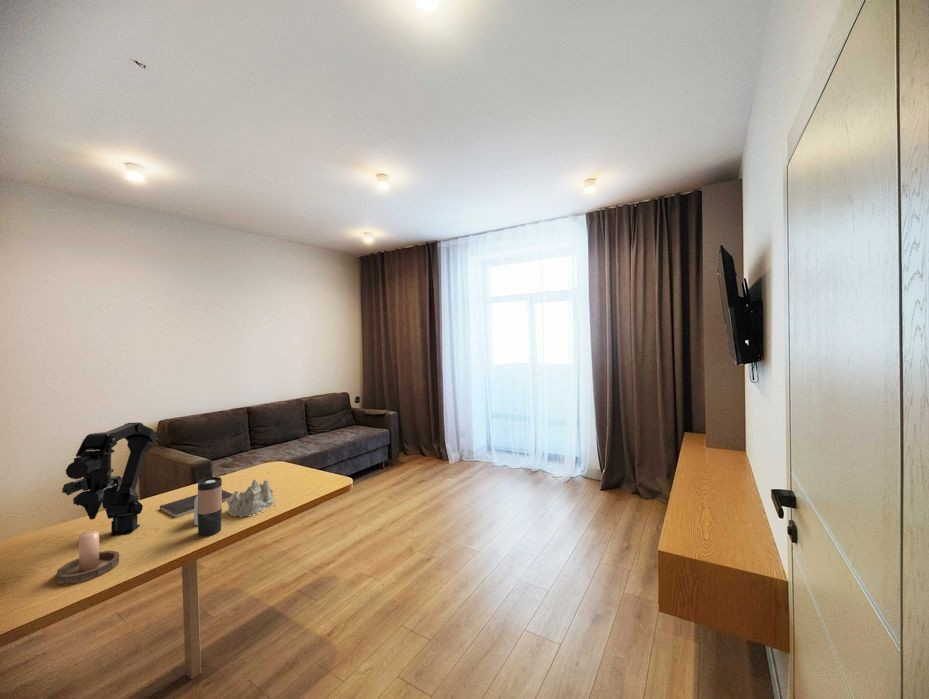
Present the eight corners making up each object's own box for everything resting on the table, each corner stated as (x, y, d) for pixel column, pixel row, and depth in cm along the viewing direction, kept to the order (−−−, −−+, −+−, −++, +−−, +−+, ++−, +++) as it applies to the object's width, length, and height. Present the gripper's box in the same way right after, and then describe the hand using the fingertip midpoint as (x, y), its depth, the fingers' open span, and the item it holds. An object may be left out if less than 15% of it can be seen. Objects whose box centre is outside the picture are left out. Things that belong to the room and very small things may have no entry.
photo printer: (205, 514, 150) (205, 485, 150) (217, 513, 151) (217, 485, 151) (192, 526, 140) (192, 495, 140) (204, 525, 141) (204, 494, 141)
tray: (128, 555, 120) (128, 548, 120) (100, 580, 107) (100, 572, 107) (79, 561, 117) (79, 554, 117) (43, 588, 104) (43, 579, 104)
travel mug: (226, 527, 140) (226, 476, 140) (213, 537, 132) (213, 484, 132) (206, 527, 140) (206, 477, 140) (192, 537, 132) (192, 484, 132)
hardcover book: (234, 499, 167) (234, 494, 167) (175, 519, 147) (175, 514, 147) (217, 492, 175) (217, 487, 175) (159, 510, 155) (159, 505, 155)
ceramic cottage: (281, 503, 161) (278, 471, 161) (247, 521, 146) (244, 485, 146) (256, 500, 167) (254, 469, 166) (222, 517, 151) (219, 482, 151)
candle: (103, 564, 114) (103, 530, 114) (87, 573, 110) (87, 537, 110) (90, 564, 114) (90, 530, 114) (74, 572, 110) (74, 537, 110)
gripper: (82, 464, 128) (82, 507, 128) (50, 481, 111) (50, 530, 111) (122, 460, 133) (122, 501, 133) (98, 476, 116) (97, 523, 116)
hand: (99, 513), depth 123 cm, fingers open, 9 cm apart
